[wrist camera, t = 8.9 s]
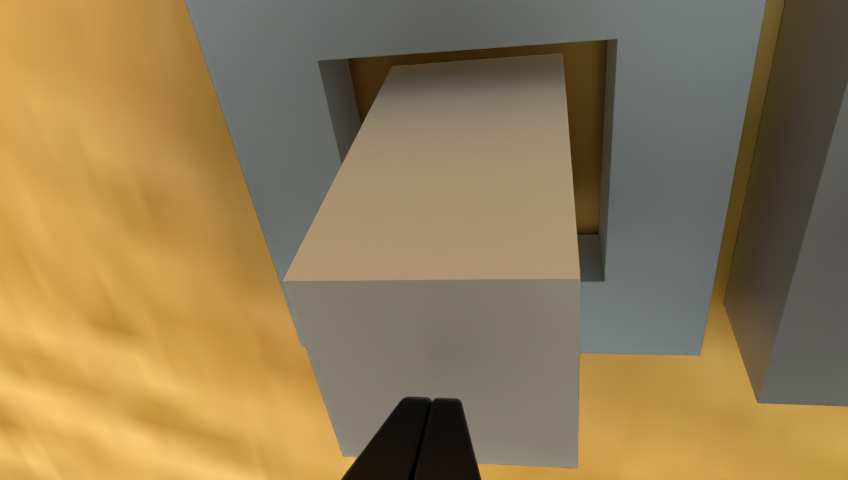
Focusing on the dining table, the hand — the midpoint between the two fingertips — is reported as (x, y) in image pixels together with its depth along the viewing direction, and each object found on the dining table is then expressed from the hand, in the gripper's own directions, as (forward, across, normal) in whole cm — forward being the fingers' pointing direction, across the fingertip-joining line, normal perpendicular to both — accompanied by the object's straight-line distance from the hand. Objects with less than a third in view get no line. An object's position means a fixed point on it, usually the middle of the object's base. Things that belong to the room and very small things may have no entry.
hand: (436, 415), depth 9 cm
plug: (+9, 0, 0) cm, 9 cm away
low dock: (+8, 0, 0) cm, 9 cm away
